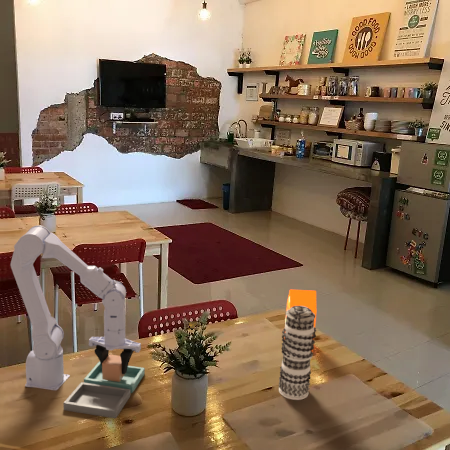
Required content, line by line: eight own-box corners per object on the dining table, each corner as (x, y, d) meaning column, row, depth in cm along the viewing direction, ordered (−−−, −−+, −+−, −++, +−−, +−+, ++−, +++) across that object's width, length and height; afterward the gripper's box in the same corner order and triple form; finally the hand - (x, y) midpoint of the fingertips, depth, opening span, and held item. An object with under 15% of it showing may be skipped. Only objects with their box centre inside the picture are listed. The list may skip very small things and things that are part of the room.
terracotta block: (102, 379, 140) (102, 363, 138) (109, 370, 145) (109, 354, 143) (119, 381, 139) (119, 365, 138) (126, 372, 144) (126, 356, 142)
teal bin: (84, 387, 139) (83, 379, 138) (99, 369, 149) (99, 361, 148) (132, 394, 137) (132, 386, 136) (144, 375, 146) (144, 367, 146)
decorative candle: (317, 395, 140) (325, 312, 134) (290, 404, 136) (297, 318, 130) (297, 379, 148) (304, 300, 142) (271, 387, 144) (277, 305, 138)
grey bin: (63, 411, 128) (63, 402, 127) (81, 390, 138) (81, 382, 137) (115, 420, 126) (115, 411, 125) (130, 397, 135) (130, 389, 135)
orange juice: (312, 352, 165) (318, 295, 160) (285, 350, 165) (290, 293, 160) (309, 341, 173) (314, 286, 168) (283, 339, 173) (288, 285, 168)
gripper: (83, 329, 136) (84, 374, 139) (134, 336, 134) (134, 382, 137) (94, 319, 143) (95, 362, 146) (143, 325, 140) (143, 369, 144)
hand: (114, 371), depth 142 cm, fingers closed on terracotta block, 5 cm apart
